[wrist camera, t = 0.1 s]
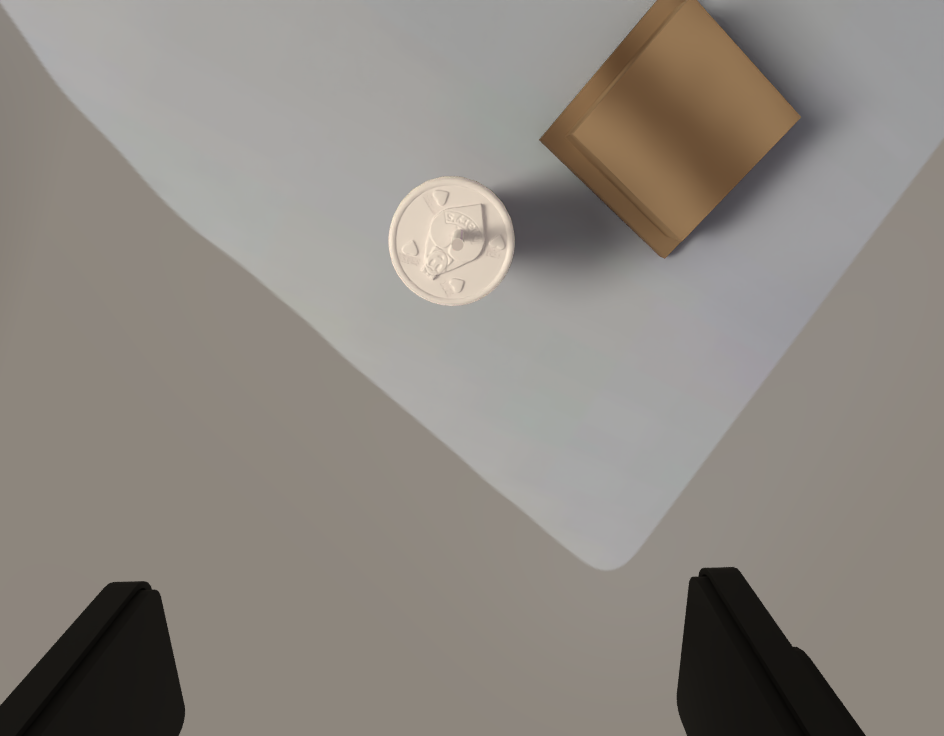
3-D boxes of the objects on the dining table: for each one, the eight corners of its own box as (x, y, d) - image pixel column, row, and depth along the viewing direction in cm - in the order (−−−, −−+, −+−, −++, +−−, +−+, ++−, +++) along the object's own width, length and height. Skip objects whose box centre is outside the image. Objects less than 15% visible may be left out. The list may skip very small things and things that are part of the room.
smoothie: (524, 218, 38) (555, 242, 25) (463, 295, 40) (462, 356, 27) (445, 153, 37) (434, 142, 24) (385, 235, 39) (344, 268, 25)
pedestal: (668, -13, 34) (693, -37, 31) (789, 121, 37) (826, 115, 33) (539, 139, 37) (547, 136, 33) (660, 256, 39) (681, 265, 35)
